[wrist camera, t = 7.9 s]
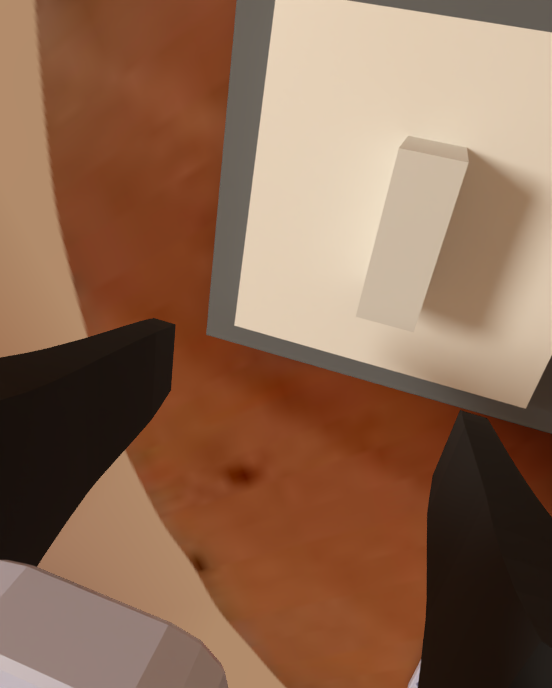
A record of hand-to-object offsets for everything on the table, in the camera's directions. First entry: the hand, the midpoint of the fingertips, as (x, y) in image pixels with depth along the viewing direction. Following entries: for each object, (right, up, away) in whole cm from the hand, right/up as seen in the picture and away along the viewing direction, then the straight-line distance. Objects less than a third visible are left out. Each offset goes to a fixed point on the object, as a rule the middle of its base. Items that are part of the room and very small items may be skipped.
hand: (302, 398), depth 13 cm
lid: (+4, +6, +6) cm, 9 cm away
